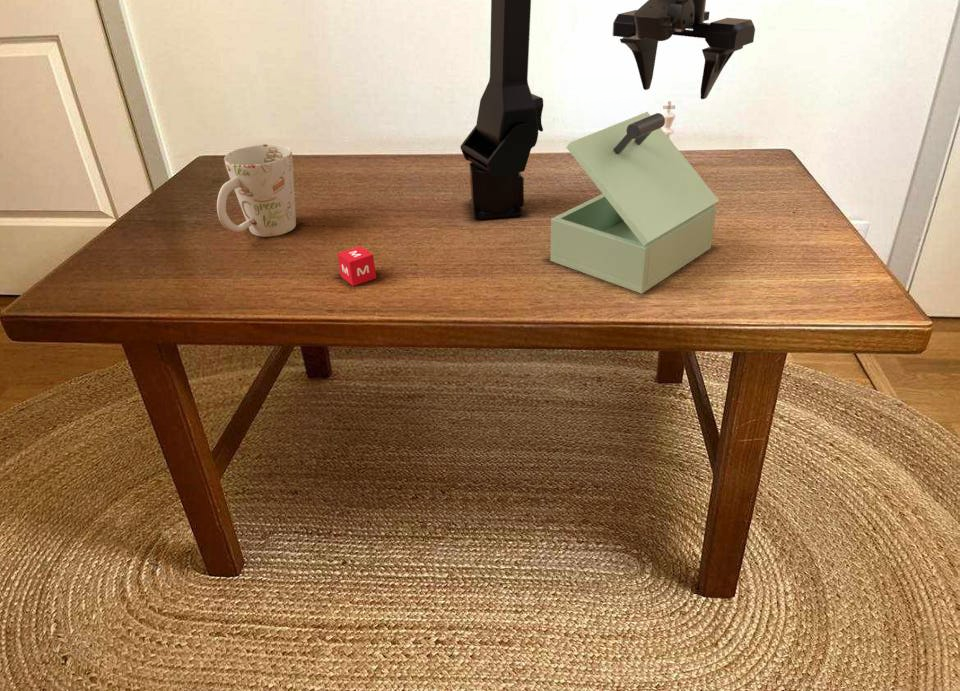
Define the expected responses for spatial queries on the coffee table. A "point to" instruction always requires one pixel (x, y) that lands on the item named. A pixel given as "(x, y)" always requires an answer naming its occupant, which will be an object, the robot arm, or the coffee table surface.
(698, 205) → the lid
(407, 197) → the coffee table surface
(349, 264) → the red letter cube
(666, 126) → the chess piece
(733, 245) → the coffee table surface
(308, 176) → the coffee table surface
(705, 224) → the chest
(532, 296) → the coffee table surface
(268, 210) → the mug
